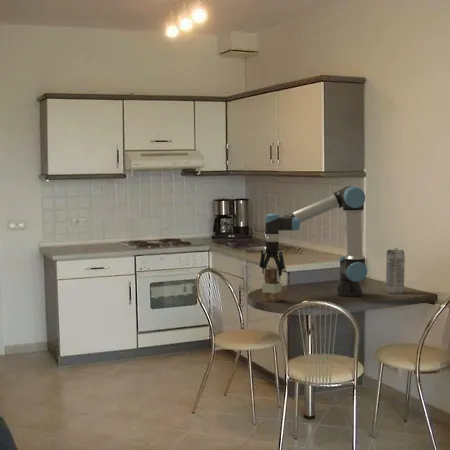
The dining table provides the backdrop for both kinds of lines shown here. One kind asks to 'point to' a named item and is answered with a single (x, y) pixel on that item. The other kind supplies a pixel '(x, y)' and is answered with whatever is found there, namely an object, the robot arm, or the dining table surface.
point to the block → (271, 276)
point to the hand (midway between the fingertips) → (272, 280)
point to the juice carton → (395, 271)
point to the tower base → (271, 296)
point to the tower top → (271, 288)
